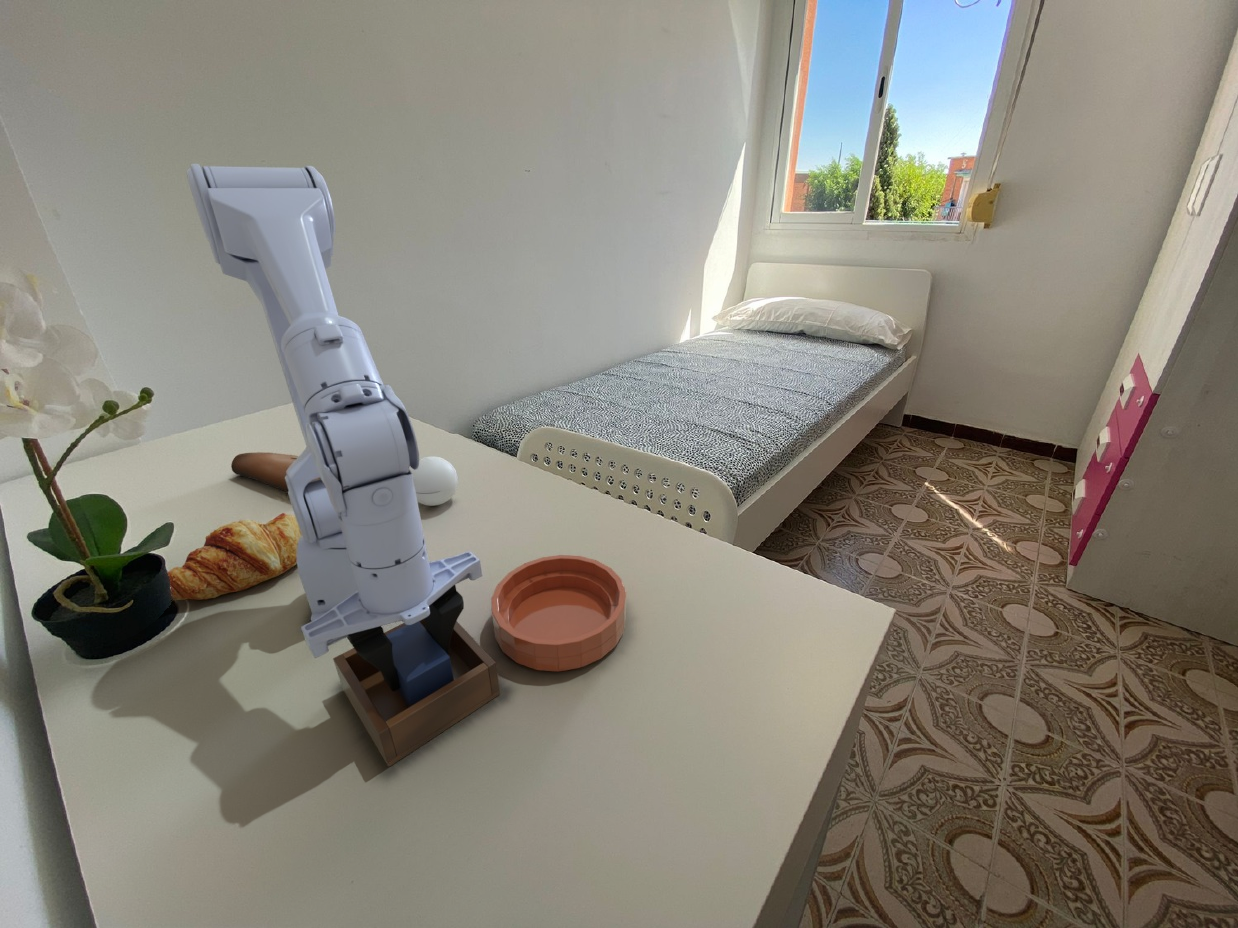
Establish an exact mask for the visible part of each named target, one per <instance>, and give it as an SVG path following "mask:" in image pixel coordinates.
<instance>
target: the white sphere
mask: <svg viewBox="0 0 1238 928" xmlns="http://www.w3.org/2000/svg"><path fill="white" fill-rule="evenodd" d="M409 470H410V471H411V472H412V476H413V482H414V487H415V492H416V497H417V502H418V504H422V505H424V506H427V507H428V506H429V507H433V506H439V505H442V504H445V503H447V502H448V501H449V500H450V499H451V498H452V497H454V495H455V494H456V491H457V489H458V485H459V476H458V473H457V470H456V468H455V467H454V466H453V465H452V463H451V462H450V461H448V460H446V459H444V458H442V457H440V456H425V457H422V458H419V467H418V469H416V470H414V469H412V468H411V467H410V468H409Z"/></svg>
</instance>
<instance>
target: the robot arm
mask: <svg viewBox="0 0 1238 928" xmlns="http://www.w3.org/2000/svg"><path fill="white" fill-rule="evenodd" d="M185 173H186V178H187V181H188V185H189V188H190V192H191V195H192V198H193V201H194V204H195V205H194V206H195V208H196V211H197V214H198V217H199V220H200V223H201V227H202V230H203V232H204V235H205V237H206V240H207V241H208V243H209V247H210V250H211V252H212V255H213V259H214V261H215V263H216V264H218V265H219V267H220V269H221V272H222V274H223V275H225V276H228V277H232V278H235V279H238V280H240V281H244V282H247V284H248V285H249V287H250V289H251V290H252V292H253V293H254V295H255V296H256V297H257V299H258V301H259V303H260V304H261V307H262V309H263V312H264V315H265V318H266V322H267V325H268V329H269V331H270V334H271V338H272V341H273V344H274V347H275V350H276V353H277V357H278V361H279V363H280V367H281V369H282V372H283V376H284V380H285V383H286V386H287V389H288V392H289V395H290V399H291V402H292V405H293V409H294V412H295V415H296V418H297V421H298V424H299V427H300V431H301V434H302V437H303V440H304V444H305V449H304V450H303V451H302V452H301V453H300V454H299V455H298V456H299V457H298V458H297V459H296V460H295V461H294V462H293V463H292V464H291V465H290V467H289V468H288V469H287V471H286V474H287V475H286V477H285V481H286V484H287V487H288V490H289V491H288V492H287V493H288V497H289V501H290V505H291V509H292V510H293V513H294V517H296V520H297V523H298V526H299V528H300V531H301V534H302V535H301V537H300V539H299V542H298V546H297V564H296V567H297V571H298V572H297V573H298V575H299V578H300V579H299V580H300V581H301V584H302V587H303V590H304V594H305V596H306V600H307V602H308V605H309V609H310V612H311V615H310V620H311V621H310V622H308V623H306V624H304V625H302V626H300V629H301V632H302V635H303V638H304V641H305V643H306V644H305V645H306V646H307V647H308V649H309V651H310V653H311V655H312V657H313V658H314V659H317V658H319V657H321V656H323V655H326V654H327V653H328V652H329V651H330V649H329V646H331V645H334V644H336V643H338V642H340V641H342V640H344V639H347V640H348V641H349V643H350V644H351V646H352V647H353V648H354V649H355V650H356V652H357V653H358V654H359V655H360V656H361V657H362V658H363V659H364V660H366V661H368V662H369V663H371V664H372V665H374V666H375V667H376V668H377V669H378V670H379V671H380V672H381V673H382V675H383V678H384V680H385V681H386V683H387V684H388V686H389V687H390V689H391V690H392V691H395V690H397V689H399V688H400V684H399V678H398V675H397V672H396V669H395V666H394V661H393V653H392V643H391V641H390V640H389V639H388V637H387V636H386V635H385V631H384V627H382V626H387V625H390V624H394V623H397V622H402V623H405V624H406V625H412V624H414V623H416V622H418V621H420V620H422V619H424V620H425V625H426V630H427V631H428V633H429V634H430V635H431V636H432V637H433V638H434V640H435V641H436V642H437V643H438V644H439V645H440V647H441V648H442V649H443V650H444V651H445V652H446V654H447V655H448V652H449V645H450V640H451V635H452V632H453V629H454V626H455V623H456V621H457V622H458V619H459V617H460V615H461V613H462V612H463V611H464V609H465V604H464V603H465V602H464V596H463V595H462V594H461V593H459V591H457V586H456V585H458V584H460V583H462V582H464V581H466V580H467V579H468V580H470V581H476V580H478V579H480V578H482V577H483V572H482V571H483V570H482V564H481V559H479V557H477V556H476V555H475V554H474V553H473V552H471V551H470V550H467V551H465V552H463V553H460V554H457V555H454V556H449V557H446V558H441V559H437V560H433V561H430V559H429V554H428V549H427V545H426V544H427V543H426V539H425V534H424V528H423V523H422V517H421V513H420V509H419V502H417V497H416V492H415V487H414V482H413V476H412V472H411V471H410V470H409V469H410V467H411V468H412V469H414V470H416V469H418V467H419V459H420V452H419V445H418V440H417V436H416V432H415V429H414V426H413V424H412V420H411V419H410V416H409V414H408V411H407V409H406V407H405V405H404V403H403V401H402V400H401V399H400V398H399V397H398V396H397V395H396V394H395V391H394V390H393V387H392V386H391V385H390V384H384V382H383V379H382V377H381V375H380V372H379V370H378V368H377V365H376V363H375V361H374V359H373V356H372V353H371V351H370V348H369V345H368V343H367V341H366V339H365V336H364V334H363V331H362V329H361V327H360V326H359V325H358V324H357V323H356V322H354V321H353V320H351V319H349V318H347V317H345V316H341V315H339V313H338V309H337V305H336V302H335V299H334V294H333V291H332V288H331V285H330V281H329V278H328V274H327V271H326V270H327V269H329V268H330V267H331V266H332V263H331V262H332V257H333V255H334V245H335V243H334V242H335V236H336V218H335V211H334V205H333V201H332V197H331V194H330V191H329V188H328V185H327V182H326V180H325V178H324V177H323V175H322V174H321V173H320V172H319V171H318V170H317V168H316V167H314V166H312V165H305V166H304V167H283V166H282V167H281V166H280V167H279V166H278V167H277V166H275V167H273V166H223V165H221V166H217V165H203V166H202V167H201V164H200V163H191V164H190V166H189V168H188V169H187V170H186V172H185ZM316 478H321V479H319V480H315V481H312V480H314V479H316ZM310 481H311V482H310Z"/></svg>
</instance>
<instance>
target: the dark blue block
mask: <svg viewBox="0 0 1238 928" xmlns="http://www.w3.org/2000/svg"><path fill="white" fill-rule="evenodd" d="M386 636H387V637H388V639H389V640H390V641H391V643H392V653H393V661H394V666H395V669H396V672H397V675H398V678H399V684H400V688H399V689H397V691H398V693H399V694H400V695H401V697H402V698H403V700H404V701H405V703H406V704H407V706H408V707H411V706H412V705H414V704H416V703H417V702H419V701H421V700H422V699H424V698H426V697H427V696H429V695H431V694H432V693H434V692H436V691H437V690H439V689H441V688H442V687H444V686H446V685H447V684H449V683H451V682H452V681H454V677H453V672H452V667H451V661H450V657H449V656H448V655H447V654H446V652H445V651H444V650H443V649H442V648H441V647H440V645H439V644H438V643H437V642H436V641H435V640H434V638H433V637H432V636H431V635H430V634H429V633H428V631H427V630H426V629H425V628H424V627H423V626H422V624H421V623H420V622H419V621H418V622H416V623H414V624H412V625H405V626H403V627H401V628H399V629H397V630H396V631H394V632H392V633H390V634H388V635H386Z"/></svg>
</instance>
